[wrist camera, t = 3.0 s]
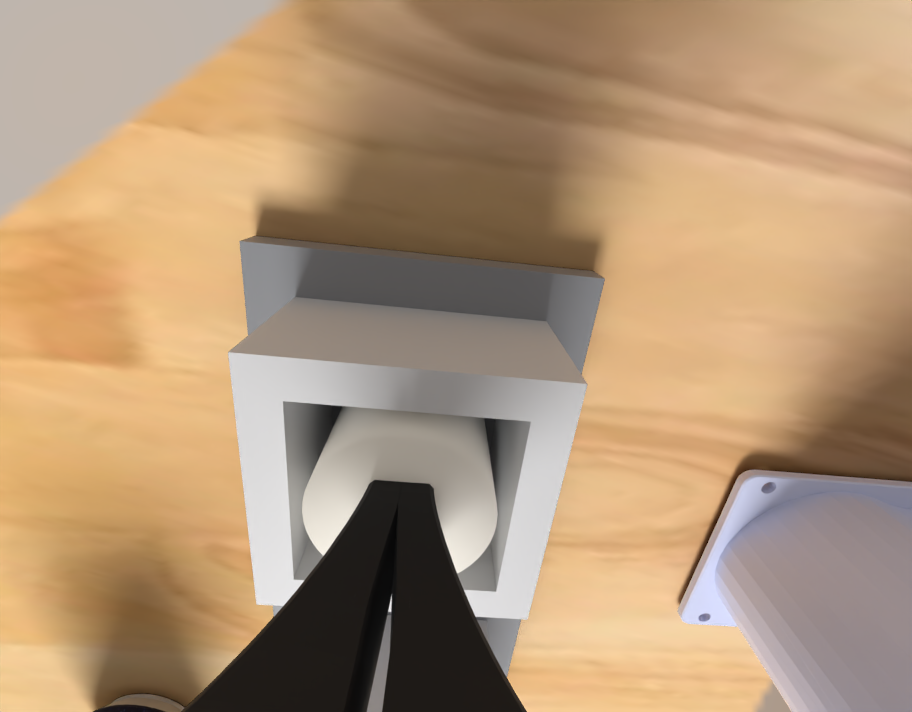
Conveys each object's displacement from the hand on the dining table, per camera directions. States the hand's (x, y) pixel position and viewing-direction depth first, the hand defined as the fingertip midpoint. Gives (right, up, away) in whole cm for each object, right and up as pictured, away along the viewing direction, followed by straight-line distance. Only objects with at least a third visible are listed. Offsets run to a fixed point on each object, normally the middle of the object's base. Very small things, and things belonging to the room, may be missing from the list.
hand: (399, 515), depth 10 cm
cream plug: (0, +2, +4) cm, 4 cm away
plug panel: (-1, -4, +7) cm, 8 cm away
